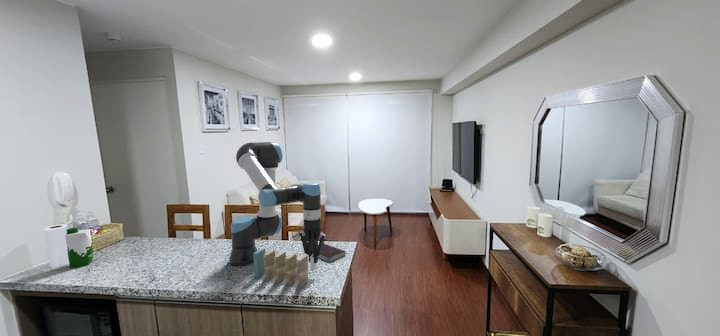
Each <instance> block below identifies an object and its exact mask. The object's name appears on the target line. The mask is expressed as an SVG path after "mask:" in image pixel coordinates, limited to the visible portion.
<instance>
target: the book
mask: <svg viewBox="0 0 720 336" xmlns="http://www.w3.org/2000/svg"><path fill="white" fill-rule="evenodd" d="M318 246H319V244H318ZM346 254H347V253H346V251H345V250H343V249H340V248H337V247H335V246H332V245H330V244H325V243H324V245H323V250H322V254H320V255H319V256H318V259H321V260H324V261H326V262H328V263H331V262H333V261H335V260H338V259H339V258H342V257H344V256H346Z"/></svg>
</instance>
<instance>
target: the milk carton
mask: <svg viewBox="0 0 720 336" xmlns="http://www.w3.org/2000/svg"><path fill="white" fill-rule="evenodd" d="M64 237H65V242H66V250H67V259H68V265H69V268H70V269H73V268H79V267H80V268H81V267H84V266H89V265H90V264H91V262H92V261H93V259H94V257H93V255H94V252H93V242H92V236H91V229H90V228H87V229H78V227H71V228H67V229H66V234H65V235H64Z"/></svg>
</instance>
